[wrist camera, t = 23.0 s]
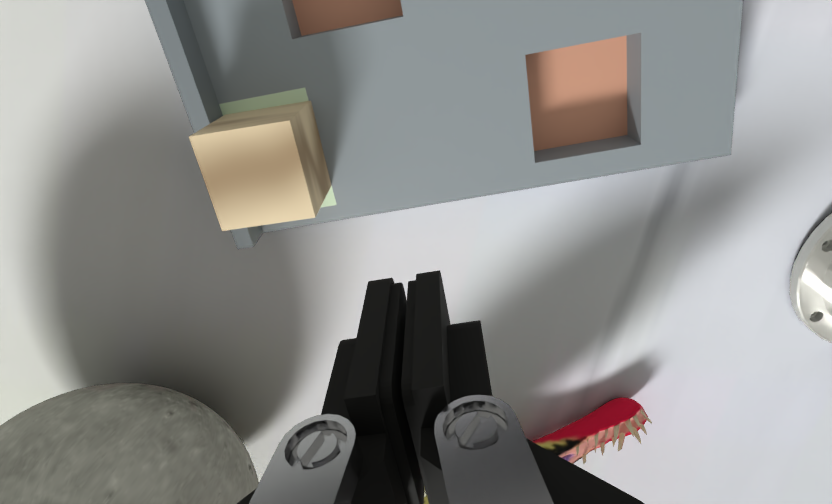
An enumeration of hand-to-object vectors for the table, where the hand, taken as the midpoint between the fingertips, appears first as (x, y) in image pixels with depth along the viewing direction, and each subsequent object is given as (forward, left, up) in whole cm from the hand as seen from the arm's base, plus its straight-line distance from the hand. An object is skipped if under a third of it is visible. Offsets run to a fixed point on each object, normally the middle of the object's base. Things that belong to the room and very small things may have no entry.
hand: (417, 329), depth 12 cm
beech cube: (0, +8, -20) cm, 21 cm away
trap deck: (+4, -3, -22) cm, 23 cm away
